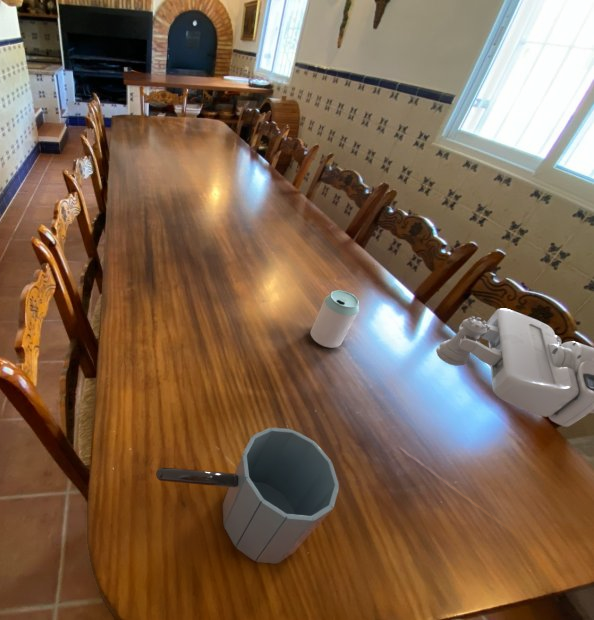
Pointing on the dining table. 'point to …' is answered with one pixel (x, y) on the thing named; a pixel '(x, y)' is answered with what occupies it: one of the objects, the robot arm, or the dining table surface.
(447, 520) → the dining table surface
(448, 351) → the rook chess piece
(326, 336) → the can
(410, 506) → the dining table surface
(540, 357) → the robot arm
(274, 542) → the pot
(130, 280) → the dining table surface
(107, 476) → the dining table surface
